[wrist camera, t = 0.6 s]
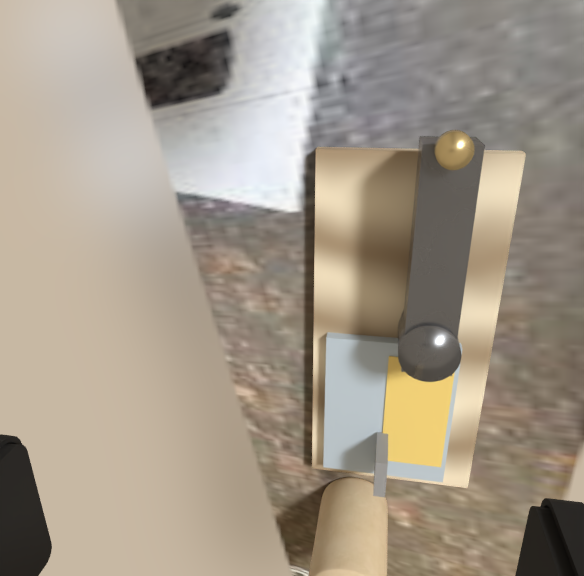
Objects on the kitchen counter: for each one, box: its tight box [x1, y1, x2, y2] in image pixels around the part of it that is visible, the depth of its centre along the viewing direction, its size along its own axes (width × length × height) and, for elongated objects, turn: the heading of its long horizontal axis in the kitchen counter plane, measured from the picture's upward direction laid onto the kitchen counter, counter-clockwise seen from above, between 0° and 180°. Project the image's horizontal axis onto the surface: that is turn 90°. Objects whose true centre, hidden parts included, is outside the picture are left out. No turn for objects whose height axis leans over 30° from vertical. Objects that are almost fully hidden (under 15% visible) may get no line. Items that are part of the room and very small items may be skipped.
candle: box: [309, 477, 388, 576], centre depth 38 cm, size 6×6×10 cm
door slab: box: [323, 332, 462, 497], centre depth 35 cm, size 12×9×4 cm
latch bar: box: [398, 130, 485, 382], centre depth 29 cm, size 14×4×4 cm, turn 0°
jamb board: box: [312, 147, 526, 488], centre depth 35 cm, size 25×12×1 cm, turn 0°
